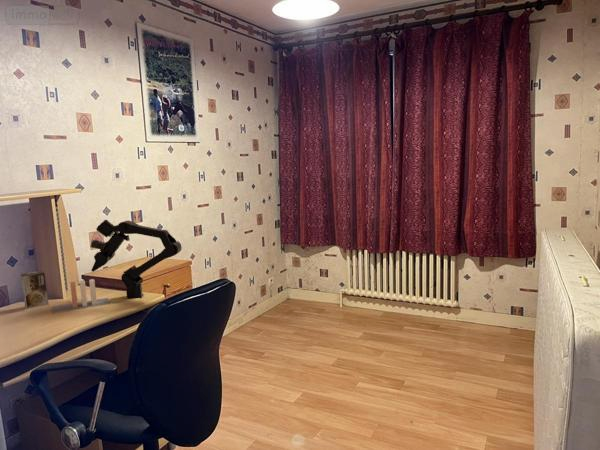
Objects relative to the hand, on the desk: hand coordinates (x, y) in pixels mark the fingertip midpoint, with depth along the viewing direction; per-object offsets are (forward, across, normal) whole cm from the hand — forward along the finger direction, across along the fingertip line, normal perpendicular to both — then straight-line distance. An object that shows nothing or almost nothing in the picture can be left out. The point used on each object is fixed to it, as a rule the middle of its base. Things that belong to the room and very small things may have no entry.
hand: (94, 269), depth 213 cm
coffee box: (+29, 0, -10) cm, 31 cm away
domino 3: (+12, +6, +10) cm, 16 cm away
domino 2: (+14, +7, +6) cm, 17 cm away
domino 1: (+17, +8, +4) cm, 19 cm away
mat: (+16, +8, +6) cm, 18 cm away
